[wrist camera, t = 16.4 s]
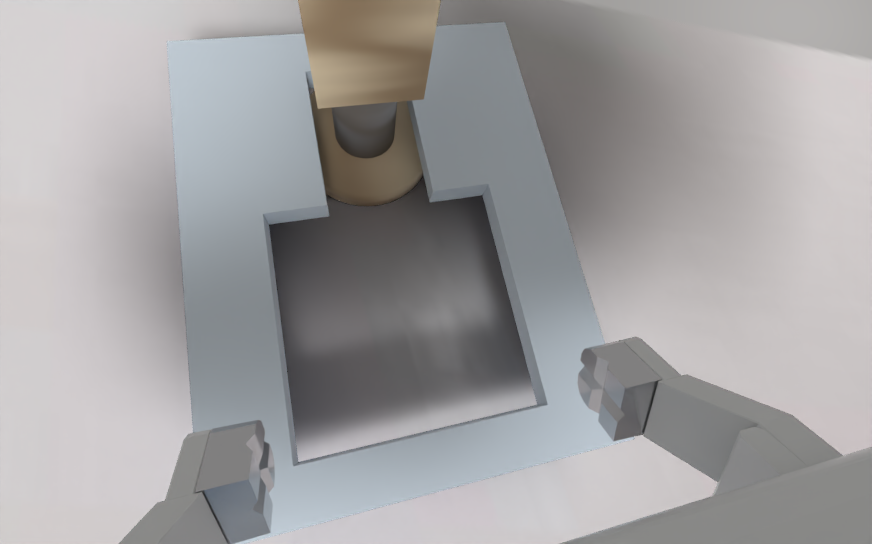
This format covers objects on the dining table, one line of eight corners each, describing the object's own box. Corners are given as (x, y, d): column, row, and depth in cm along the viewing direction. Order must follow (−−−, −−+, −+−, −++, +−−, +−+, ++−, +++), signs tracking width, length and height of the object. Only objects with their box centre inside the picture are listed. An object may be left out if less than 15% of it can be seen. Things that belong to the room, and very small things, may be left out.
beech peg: (415, 88, 22) (455, -200, 11) (440, 196, 20) (514, -22, 10) (291, 98, 21) (209, -212, 10) (308, 214, 19) (232, -11, 9)
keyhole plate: (487, 72, 23) (505, 21, 20) (590, 432, 18) (634, 439, 15) (197, 96, 20) (166, 41, 17) (234, 525, 15) (201, 555, 12)
